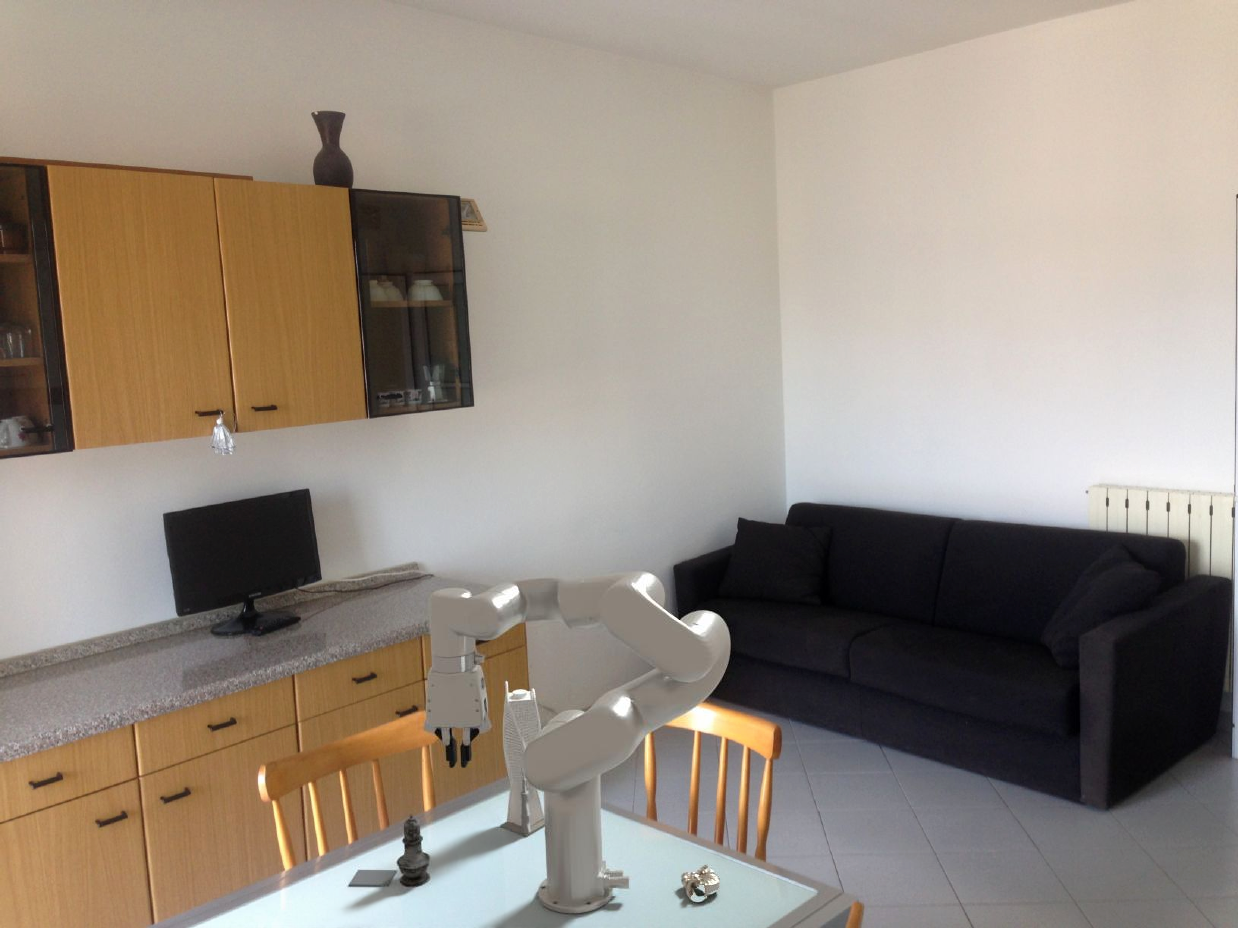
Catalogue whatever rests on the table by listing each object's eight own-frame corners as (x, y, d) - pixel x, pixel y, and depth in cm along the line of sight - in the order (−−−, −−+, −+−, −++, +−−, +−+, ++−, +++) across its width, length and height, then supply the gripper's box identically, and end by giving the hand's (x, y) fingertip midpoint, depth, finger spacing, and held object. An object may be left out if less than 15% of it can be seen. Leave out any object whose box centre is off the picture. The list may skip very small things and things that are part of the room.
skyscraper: (494, 825, 201) (488, 686, 198) (522, 809, 208) (517, 674, 204) (526, 836, 196) (520, 694, 193) (554, 820, 202) (549, 682, 199)
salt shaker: (392, 886, 179) (388, 820, 178) (405, 869, 185) (401, 805, 184) (424, 888, 178) (421, 822, 177) (436, 871, 184) (433, 807, 183)
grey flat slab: (396, 871, 185) (396, 869, 184) (388, 886, 180) (388, 884, 180) (358, 871, 185) (358, 869, 185) (348, 885, 180) (348, 884, 180)
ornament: (691, 876, 180) (690, 856, 180) (727, 885, 177) (727, 865, 177) (671, 898, 173) (670, 878, 173) (709, 908, 170) (708, 887, 170)
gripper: (503, 654, 180) (507, 755, 182) (415, 655, 181) (420, 755, 183) (495, 667, 172) (499, 773, 174) (403, 668, 173) (409, 773, 175)
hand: (459, 763), depth 179 cm, fingers closed
